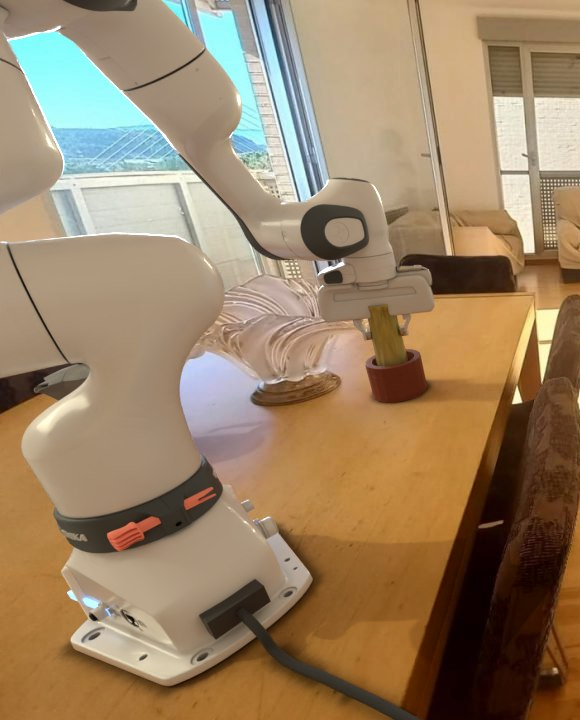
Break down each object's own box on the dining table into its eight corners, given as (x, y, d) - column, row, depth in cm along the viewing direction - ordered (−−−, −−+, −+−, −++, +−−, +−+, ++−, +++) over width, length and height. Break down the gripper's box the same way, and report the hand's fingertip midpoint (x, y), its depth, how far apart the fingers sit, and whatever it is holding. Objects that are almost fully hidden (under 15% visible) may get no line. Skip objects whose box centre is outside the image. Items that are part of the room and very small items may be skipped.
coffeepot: (105, 473, 75) (48, 371, 68) (58, 469, 77) (-3, 368, 70) (198, 423, 89) (159, 334, 82) (156, 421, 91) (114, 333, 84)
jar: (437, 385, 102) (431, 353, 99) (396, 406, 93) (388, 372, 91) (404, 377, 106) (397, 346, 103) (362, 396, 98) (353, 363, 95)
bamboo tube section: (390, 377, 94) (374, 308, 89) (371, 371, 97) (354, 304, 91) (416, 366, 99) (402, 300, 93) (397, 361, 102) (383, 297, 96)
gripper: (430, 261, 95) (441, 325, 101) (315, 270, 90) (334, 338, 95) (428, 267, 90) (441, 335, 95) (306, 277, 84) (327, 349, 90)
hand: (387, 337), depth 95 cm, fingers closed on bamboo tube section, 5 cm apart
